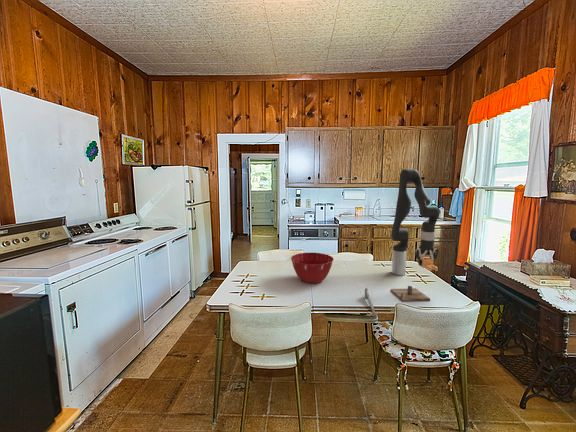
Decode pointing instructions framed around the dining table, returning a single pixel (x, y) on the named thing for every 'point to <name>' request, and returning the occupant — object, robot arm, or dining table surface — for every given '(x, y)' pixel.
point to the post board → (410, 294)
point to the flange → (428, 264)
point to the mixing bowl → (312, 266)
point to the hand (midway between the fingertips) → (425, 265)
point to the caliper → (369, 299)
